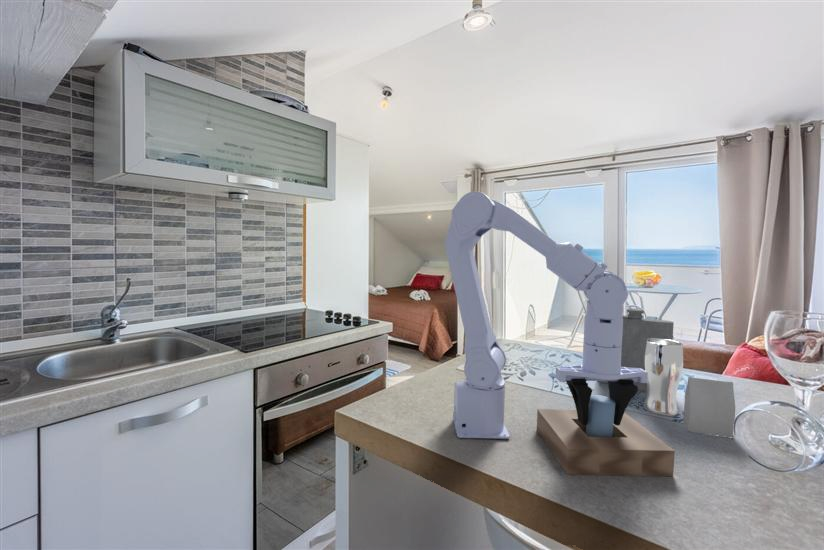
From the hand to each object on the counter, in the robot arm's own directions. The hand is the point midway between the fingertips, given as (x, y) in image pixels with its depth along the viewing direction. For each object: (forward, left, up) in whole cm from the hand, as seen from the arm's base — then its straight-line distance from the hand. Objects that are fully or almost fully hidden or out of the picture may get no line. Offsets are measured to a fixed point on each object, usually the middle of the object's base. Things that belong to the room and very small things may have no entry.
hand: (598, 422), depth 62 cm
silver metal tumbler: (+22, +17, -5) cm, 28 cm away
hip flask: (+24, +31, -5) cm, 40 cm away
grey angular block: (+25, +8, -5) cm, 27 cm away
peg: (0, 0, -5) cm, 5 cm away
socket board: (0, 0, -5) cm, 5 cm away
